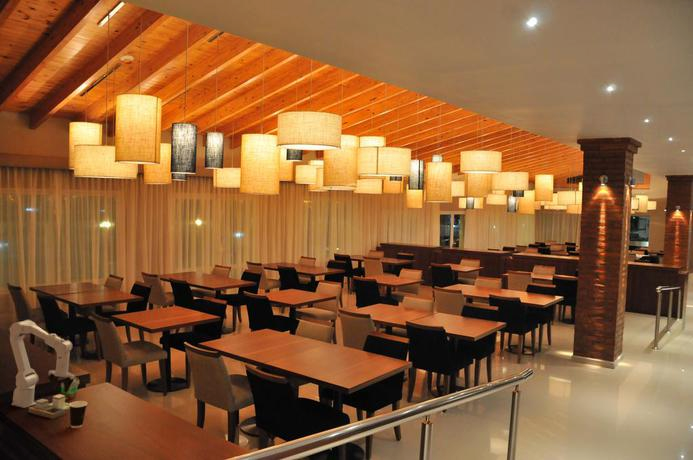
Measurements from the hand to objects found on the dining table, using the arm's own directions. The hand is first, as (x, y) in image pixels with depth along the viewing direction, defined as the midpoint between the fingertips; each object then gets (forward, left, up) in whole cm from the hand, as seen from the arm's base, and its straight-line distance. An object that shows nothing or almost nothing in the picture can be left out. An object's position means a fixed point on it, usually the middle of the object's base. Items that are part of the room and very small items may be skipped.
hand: (60, 390), depth 272 cm
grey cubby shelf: (+1, -7, -10) cm, 12 cm away
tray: (-1, +1, -10) cm, 10 cm away
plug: (-1, +1, -9) cm, 9 cm away
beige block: (-3, -7, -10) cm, 13 cm away
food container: (-7, +15, -10) cm, 19 cm away
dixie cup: (+24, -11, -10) cm, 28 cm away
